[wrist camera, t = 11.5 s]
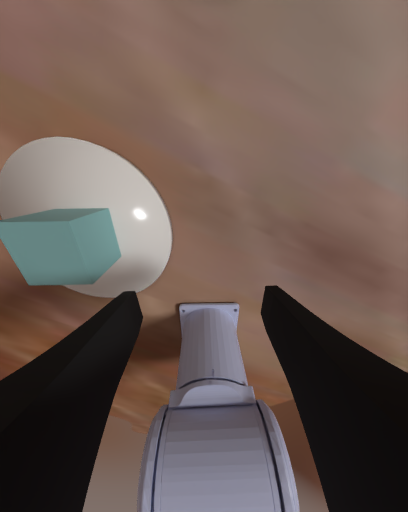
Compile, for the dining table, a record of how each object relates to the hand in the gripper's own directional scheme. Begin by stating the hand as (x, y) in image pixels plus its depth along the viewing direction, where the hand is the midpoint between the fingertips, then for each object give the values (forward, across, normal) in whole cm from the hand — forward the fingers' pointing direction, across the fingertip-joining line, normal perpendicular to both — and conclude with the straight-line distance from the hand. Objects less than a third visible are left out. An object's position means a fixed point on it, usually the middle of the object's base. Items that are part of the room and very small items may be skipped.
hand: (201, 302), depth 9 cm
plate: (+10, +11, -1) cm, 15 cm away
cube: (+8, +11, -1) cm, 14 cm away
